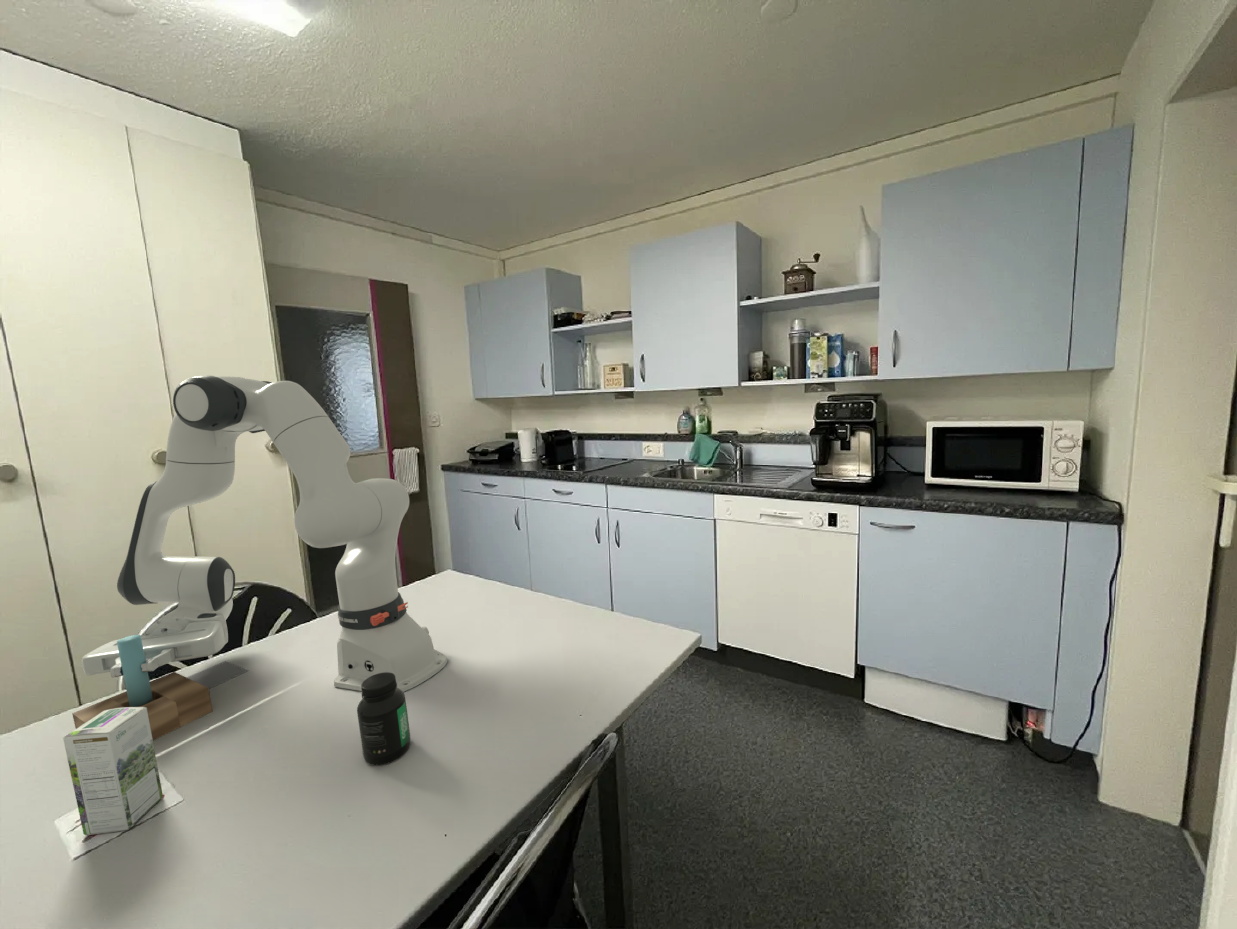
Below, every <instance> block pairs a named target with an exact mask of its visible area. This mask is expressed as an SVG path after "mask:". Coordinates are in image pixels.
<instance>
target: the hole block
mask: <svg viewBox="0 0 1237 929" xmlns="http://www.w3.org/2000/svg"><path fill="white" fill-rule="evenodd" d="M187 677H188V676H185V675H182V674H180V673H178V672H176V671H173V672H170V673H168V674H165V675H163V676H161V677H158V678H155V679H153V680H151V681H150V680H149V681H150V686H151V691H152V697H153V700H152V701H150V702H149V703H147V704H145V705H142V706H139V707H145V708H147V713H148V718H149V723H150V729H151V734H152V739H153V741H155V740H157V739H159V738H161V737H163V736H165V735H167V734H169V733H171V732H173V731H176V730H177V729H180V728H182V727H183V726H186V725H188V724H189V723H192V722H194V721H195V720H197V719H199V718H201V717H204V716H206V715H208V714H210V713H213V710H214V709H213V706H212V705H213V704H212V701H211V695H210V690H209V689H208V687H205V686H203V685H201V684H199V683H197V682H195V681H193V680H191V679H189V678H187ZM124 707H130V706H129V701H128V696H127V691H126V690H125V691H123V692H122V693H119V694H116V695H114V696H112V697H109V698H107V699H103V700H101V701H99V702H96V703H95V704H92V705H89V706H87V707H83V708H82V709H80V710H78V711H75V712H72V718H73V724H74V727H75V729H77V728H79V727H80V726H82V725H83V724H85V723H86V722H88V721H89V720H91V719H92V718H94V717H95V716H97V715H98V714H100V713H101V712H103V711H105V710H110V709H115V708H124Z"/></svg>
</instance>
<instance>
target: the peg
mask: <svg viewBox="0 0 1237 929" xmlns="http://www.w3.org/2000/svg"><path fill="white" fill-rule="evenodd" d="M141 636H142V635H141V634H133V635H127V636H125V637H122V638H119V639H120V640H118V639H117V640H118V641H117V646H118V651H119V656H120V661H121V666H122V671H123V676H122V677H123V680H124V684H125V692H126V691H127V696H128V701H129V706H130V707H139V706H142V705H145V704H147V703H149V702H150V701H152V700H153V697H152V691H151V686H150V676H149V672H142V668H141V664H142V663H143V662H145V655H144V650H143V644H142V639H141Z"/></svg>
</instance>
